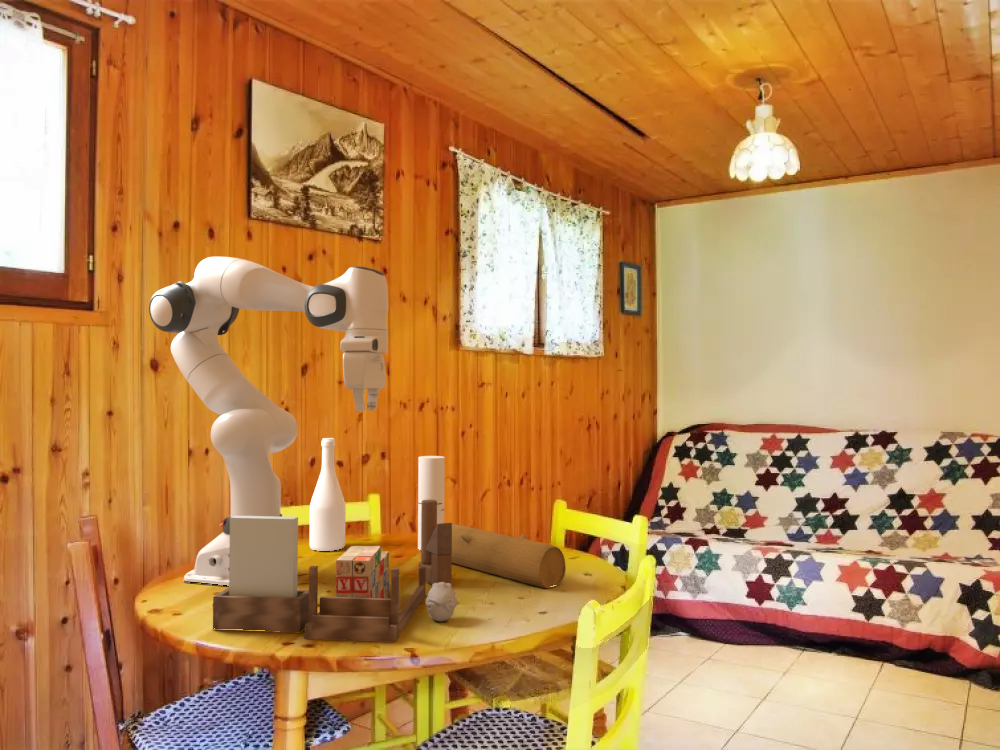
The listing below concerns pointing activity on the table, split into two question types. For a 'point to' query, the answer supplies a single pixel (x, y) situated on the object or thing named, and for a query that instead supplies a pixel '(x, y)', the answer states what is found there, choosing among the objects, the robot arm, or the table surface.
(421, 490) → the cylindrical container
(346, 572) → the stack of blocks
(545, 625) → the table surface
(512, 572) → the log
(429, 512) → the brown wedge with rod
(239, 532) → the sheet
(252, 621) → the holder
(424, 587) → the rack
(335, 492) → the wine bottle
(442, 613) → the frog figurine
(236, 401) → the robot arm
